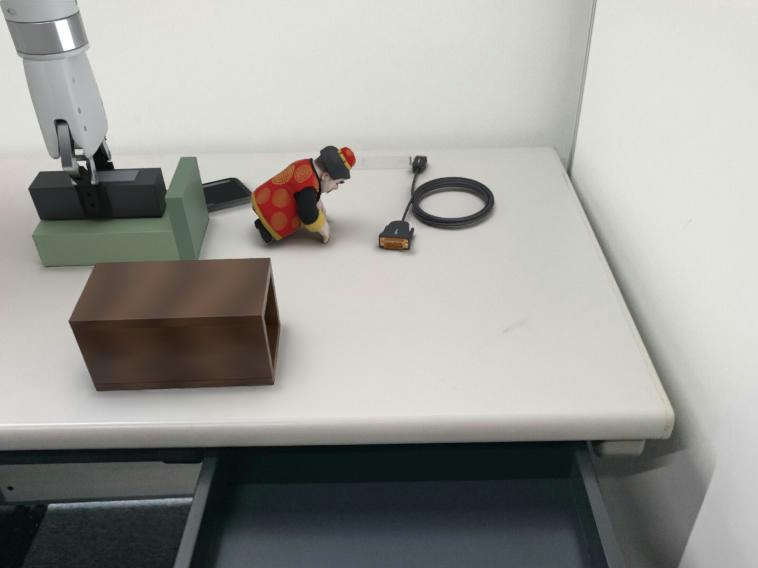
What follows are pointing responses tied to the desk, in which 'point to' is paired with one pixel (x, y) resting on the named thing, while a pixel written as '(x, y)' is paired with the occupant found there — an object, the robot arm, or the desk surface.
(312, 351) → the desk surface
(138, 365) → the shelf
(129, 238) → the green l-shaped block
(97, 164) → the robot arm
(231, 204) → the phone
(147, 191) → the black rectangular box
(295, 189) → the figurine
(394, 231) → the cable
